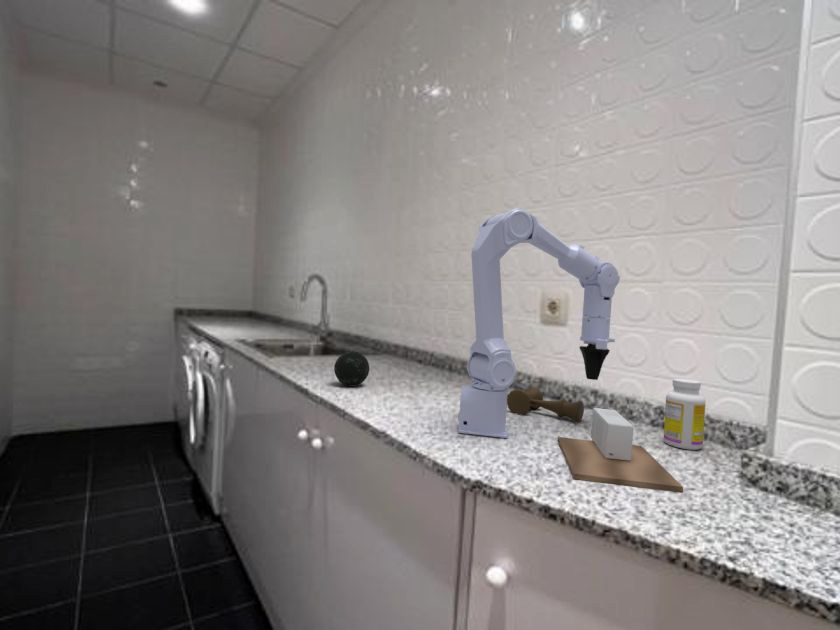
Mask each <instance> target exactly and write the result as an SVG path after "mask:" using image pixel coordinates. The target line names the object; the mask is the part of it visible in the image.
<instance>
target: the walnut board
mask: <svg viewBox="0 0 840 630" xmlns="http://www.w3.org/2000/svg"><path fill="white" fill-rule="evenodd" d="M557 443H558V445H559V448H560V451H561V452H562V454H563V457H564V459H565V462H566V464H567V467H568V469H569V471H570V473H571V476H572V478H573V480H581V481H589V482H595V483H602V484H603V483H604V484H605V483H606V484H611V485H612V484H613V485H619V486H628V487H635V488H636V487H637V488H643V489H644V488H645V489H651V490H653V489H654V490H659V491H660V490H661V491H668V492H676V493H683V492H684V486H683V485H682V484H681V483H680V482H679V481H678V480H677V479H676V478H675V477H674V476H673V475H672V474H671V473H670V472H668V471H667V469H665V468H664V466H663V465H661V464H660V463H659V462H658V461H657V459H656V458H654V457H653V456H652V454H650V453H649V451H647V450H646V449H645V447H643V446H642V445H637V444H632V454H631V461H627V460H618V459H607V458H605V457H604V456H603V454H602V453H601V451H600V450H599V448H598V447H597V446H596V444H595V443H594V441H593V440H592V439H591V440H589V439H582V438H581V439H580V438H570V437H562V436H557Z"/></svg>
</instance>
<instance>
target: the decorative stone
mask: <svg viewBox="0 0 840 630" xmlns="http://www.w3.org/2000/svg"><path fill="white" fill-rule="evenodd" d="M333 367H334V371H333V372H334V375H335V377H336V379H337V380H338V382H339V383H341V384H343V385H345V386H348V385H356V386H359V385H360V384H362V383H363V382H365V381H366V379H367V378H368V376H369V373H370V363H369V360H368V359H367V357H366V356H365V355H364V354H362V353H361V352H359V351H355V350H351V351H350V350H349V351H346V352H343V353H342V354H340V355H339V356H338V358H337V359H336V360H335V363H334V366H333Z"/></svg>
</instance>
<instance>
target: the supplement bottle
mask: <svg viewBox="0 0 840 630" xmlns="http://www.w3.org/2000/svg"><path fill="white" fill-rule="evenodd" d="M701 384H702V382H700V381H698V380H695V379H686V378H673V379H672V386H673V390H670V391H669V392H667V394H666V396H665V406H664V407H665V410H664V425H663V441H664V443H665V444H666V445H669V446H671V447H674V448H677V449H678V448H679V449H682V450H688V451H689V450H691V451H697V450H700V449H702V448H703V443H704V432H705V431H704V430H705V415H706V399H705V397H704V396H703V395H702V394H700V390H701Z"/></svg>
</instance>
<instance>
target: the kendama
mask: <svg viewBox="0 0 840 630" xmlns="http://www.w3.org/2000/svg"><path fill="white" fill-rule="evenodd" d="M508 393H509V394H508V395H507V409H508V410H509V411H510V412H511V413H512V412H513V413H512V414H515V413H517V414H516V415H520V414H523V415H526V414H527V413H528V412H529V411H530V408H533V409H532V410H537V409H540V408H543V409H546V410H548V411H551V412H552V413H554V414H556V415H557V417H558V418H563V417H565V418H569V419H571V420H572V421H573V422H574V423H576V424H579V423H580V422H582V420H583V418H584V412H585V406H584V402H583V401H581V400H578V401H576V402H570V401H567V400H566V399H564V398H561V399H560V400H544V396H543V393H542V391H540V390H539V389H538V388H536V387H531V386H529V387H527V388H525V389H524V390H522V389H517V388H516V389H513V390H511V391H510V392H508ZM578 422H579V423H578Z"/></svg>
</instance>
